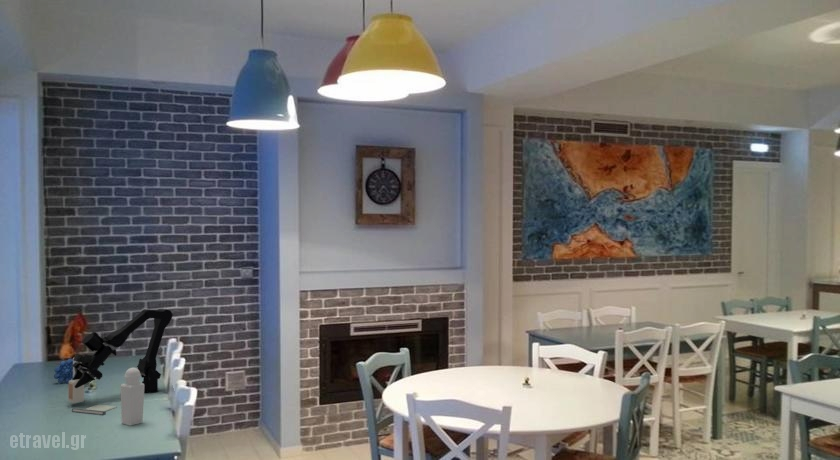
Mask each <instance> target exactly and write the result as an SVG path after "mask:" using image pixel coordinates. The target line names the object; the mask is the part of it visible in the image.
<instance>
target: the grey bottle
mask: <svg viewBox="0 0 840 460" xmlns="http://www.w3.org/2000/svg"><path fill="white" fill-rule="evenodd" d="M123 376H124V379H125V380H126V383H121V385H120V410H121V411H120V414H121V417H120V418H121V425H126V426H130V427H131V426H135V425H138V424H142V423H143V418H144V417H143V416H144V402H145V401H144V400H145V393H144V386H145V385H144V384H143V383H142V382H139V380H140V378H141V374H140V371H139V370H138V367H129V368H128V369H127V370H126V371H125V373H124V375H123Z"/></svg>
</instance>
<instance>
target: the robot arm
mask: <svg viewBox="0 0 840 460" xmlns="http://www.w3.org/2000/svg"><path fill="white" fill-rule="evenodd" d="M172 318H173V313H172V311H171V310H170V309H166V308H158V309H146V308H143V310H141V311H140V312H139V313H138V314H137V315H136V316H135V317H133V318H132V319H131V320H130V321H129V322H127V323H126V324H125V325H123V326H122V327H121V328H118V329H116V330H114V331H113V332H111V333H108V334H107V336H104V337H101V336H100V335H99V334H98V333H97V332H96V331H92V332H91V333H89V334H88V335H86V336H85V337H84V338H83V339H82V341H81V343H82V345H84V346H85V347H86V348H87V349H88V350H89V351H91V352H94V351H95V352H94V353H93V354H86V353H83V354H78V353H75V355H74V357H73V358H74V359H73V358H72V359H73V361H76V362H75V363H74V364H73V365H72V366H73V367H74V369H75V375H74V377H73V379H72V378H71V380H77V379H79V381H78V382H77V384H76V385H75V388H78V387H80V386H82V385H84V384H86V383H88V382H90V381H91V382H93V381H95V380H98V381H100V380H101V379H102V378H103V372H101V371H100V370H99V369H100V367H101V366H104V365H105V363H104V362H106V361H107V359H108V358H109V357H110V356H111V355H112V356H117V349H116V348H119V347H122V346H123V345H124V344H125V342H126V341H127V340H128V338H129V336H130V335H131V334H132V333H133V332H134V331H136V330H137V329H138V328H139V327H141V326H142V325H143V324H144V323H145V322H146V321H148V320H149V319H153V325H154V326H153V330H152V333H151V337H150V340H149V343H148V346H147V349H146V353H145V355H144V357H143V358H139V360H138V363H137V365H136V368H137V369H138V370H139V371H140V374H141V376H140V378H142V379H143V380H142V381H141V383H143V384H144V385H145V386H144V394H147V393H157V392H158V391H159V379H160V378H161V375H162V374H161V373H160V372H159V371H158V370H157V355H158V353H159V350H160V349H159V348H160V346H161V343H162V338H163V336H164V333H165V330H166V327H168V325H170V322H171V321H172ZM112 347H113V348H112ZM80 362H81V363H80Z"/></svg>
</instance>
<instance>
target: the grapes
mask: <svg viewBox="0 0 840 460" xmlns="http://www.w3.org/2000/svg"><path fill="white" fill-rule="evenodd" d="M72 365H73V358H69V359H67V360H66V361H65V360H62V361H60V362H59V366H56V367H55V368H54V372H55V373H54V375H53V378H54V380H57V383H58V384H63V383H65V384H69V381H70V380H72V379H73V366H72Z"/></svg>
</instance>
